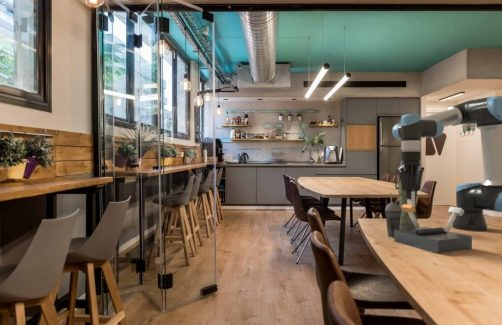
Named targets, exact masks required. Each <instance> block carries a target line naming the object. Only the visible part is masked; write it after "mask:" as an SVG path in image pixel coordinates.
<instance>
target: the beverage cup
mask: <svg viewBox="0 0 502 325" xmlns="http://www.w3.org/2000/svg"><path fill="white" fill-rule="evenodd" d="M389 195H390V202H389V203H388V204H386V206H385V209H384V213H385V219H386V230H387V237H389V238H394V230H397V229H399V227H400V216H401V212H402V211H401V207H400V206H399V203H398V202H394V201H393V198H392V193H391V192H389Z"/></svg>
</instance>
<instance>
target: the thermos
mask: <svg viewBox="0 0 502 325" xmlns="http://www.w3.org/2000/svg"><path fill="white" fill-rule="evenodd" d="M402 162H403V161H402V160H401V161H400V164H399V168H400V167H401V166H402ZM394 172H395V175H394V176H395V177H394V182H395V185H394V186H395V187H394V188H395V190H397V191H398V192H397V193H398V197H399V200H398V201H399V203H398V205H399V206H400V207H401V206H402V205H404V204H406V205H407V198H406V191H404V190H402V186H401V180H400V179H399V181H398V170H397V169H396V170H395V171H394ZM417 196H418V191H417V192H416V198H415V207H414V208H415V211H414V212H413V214H414V216H415V218H416V220H417V221H418V217H417ZM401 211H402V212H401V216H400V227H399V229H407V228H416V227H415V226H414V224H413V222H412V220H411V218H410V216H409V214H408V212H404V211H403V210H402V208H401Z"/></svg>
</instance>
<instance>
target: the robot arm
mask: <svg viewBox="0 0 502 325" xmlns="http://www.w3.org/2000/svg"><path fill="white" fill-rule="evenodd" d="M469 124H470V125H473V124H475V125H476V128H477V129H478V130H479V131H480V140H481V154H482V165H483V166H482V167H483V175H484V176H483V177H484V178H483V181H482V182H471V183H459V184H457V186H456V191H455V193H456V195H455V196H456V197H455V201H456V203H455V204H456V206H455V207H457V208H462V209H463V210H464V213H463V215H462V216H459V215H457V216H456V218H455V220H454V222H453V224H452V228H453V229H457V230H461V231H462V230H463V231H471V232H474V231H475V232H478V231H479V232H485V231H487V230H488V224H487V220H486V219H485V216H484V211H492V212H498V213H502V95H494V96H493V95H491V96H487V97H482V98H476V99H470V100H466V101H463V102H461V103H458V104H456V105H453V106H449V107H447V108H445V110H444V111H439V112H437V113H434V114H433V113H432V114H429V115H426V116H422V117H421V114H419V113H408V114H407V113H406V114H403V115H402V116H401V118H400V123H399V122H398V123H397V124H395V125H394V126H392V136H393V137H394V139H396V140H400V150H401V152H400V159H401V161H403V162H402V166H401V167H400V166H399V167H397V168H396V170H398V171H397V173H398V174H399V181H400V180H401V186H402V190H404V191H406V198H407V205H413V206H414V207H415V198H416V199H417V196H416V192H417V193H418V191H420V189H421V183H422V180H423V179H422V178H423V173H424V171H425V167H422V166H421V164H420V160H421V159H422V158H421V157H422V155H421V152H422V151H420V150H421V149H422V148H421V147H422V144H421V141H422V140H421V139H424V138H426V139H427V138H431V139H433V138H439V137H441V135H442V134H443V132H444V128H445V127H449V126H454V127H456V126H458V125H469Z"/></svg>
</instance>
